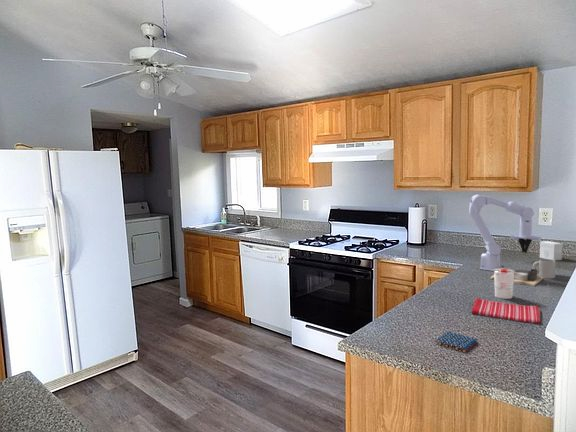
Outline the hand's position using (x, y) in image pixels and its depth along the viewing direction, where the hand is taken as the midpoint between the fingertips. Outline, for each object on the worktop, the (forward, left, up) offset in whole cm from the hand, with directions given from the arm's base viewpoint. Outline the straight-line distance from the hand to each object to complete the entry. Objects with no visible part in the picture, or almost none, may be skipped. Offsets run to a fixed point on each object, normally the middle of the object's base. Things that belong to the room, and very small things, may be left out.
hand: (524, 252), depth 219 cm
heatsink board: (+2, -22, -10) cm, 24 cm away
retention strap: (+2, -22, -7) cm, 23 cm away
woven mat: (+10, -118, -11) cm, 119 cm away
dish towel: (+13, -77, -11) cm, 79 cm away
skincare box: (+4, +42, -11) cm, 44 cm away
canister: (+6, -56, -11) cm, 57 cm away
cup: (+11, -8, -11) cm, 17 cm away
